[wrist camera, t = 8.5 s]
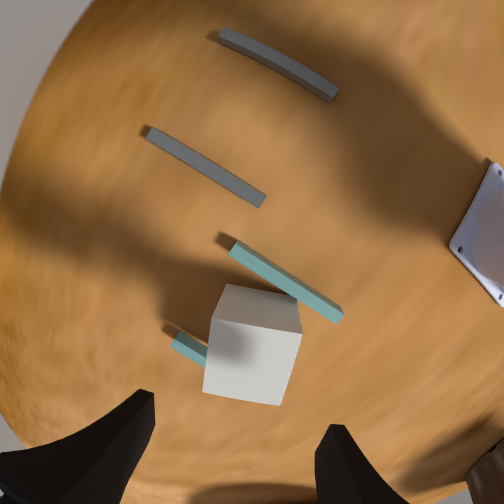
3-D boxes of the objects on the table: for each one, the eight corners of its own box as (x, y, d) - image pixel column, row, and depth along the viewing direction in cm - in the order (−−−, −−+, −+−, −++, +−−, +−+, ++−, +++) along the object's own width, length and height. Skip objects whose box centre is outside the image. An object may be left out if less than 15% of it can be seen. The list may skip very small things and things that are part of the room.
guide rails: (432, 171, 16) (441, 171, 15) (267, 390, 20) (266, 400, 19) (227, 35, 15) (224, 26, 13) (89, 276, 19) (80, 281, 18)
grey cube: (296, 295, 18) (302, 334, 14) (279, 358, 20) (280, 405, 15) (227, 283, 19) (211, 317, 14) (217, 347, 20) (202, 391, 15)
